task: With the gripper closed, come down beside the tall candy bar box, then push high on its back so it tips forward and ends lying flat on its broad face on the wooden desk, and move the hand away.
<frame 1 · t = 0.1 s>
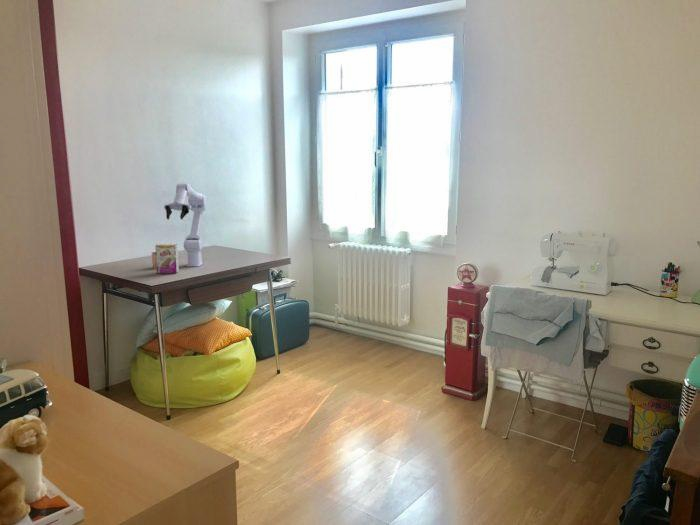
hand: (174, 218, 304), 32 cm above the table, tool tilted 50°, fingers open, 7 cm apart
candy bar box: (168, 273, 317), on the table
terracotta pencil cup: (158, 267, 332), on the table
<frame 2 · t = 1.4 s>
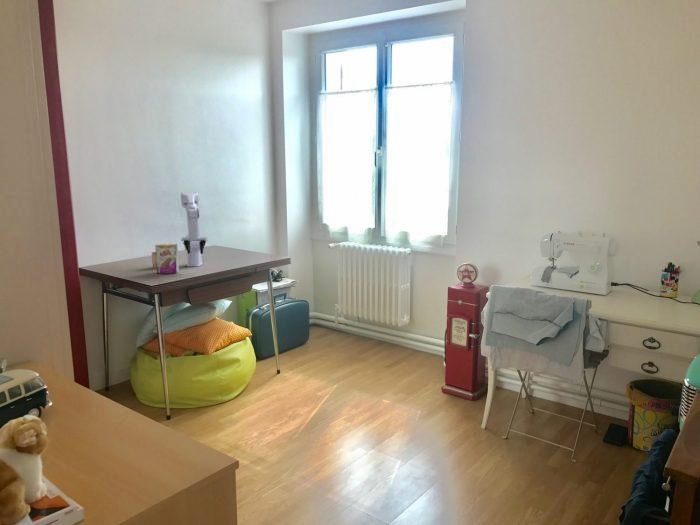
hand: (195, 253, 318), 10 cm above the table, tool pointing down, fingers open, 7 cm apart
nothing on the table moved.
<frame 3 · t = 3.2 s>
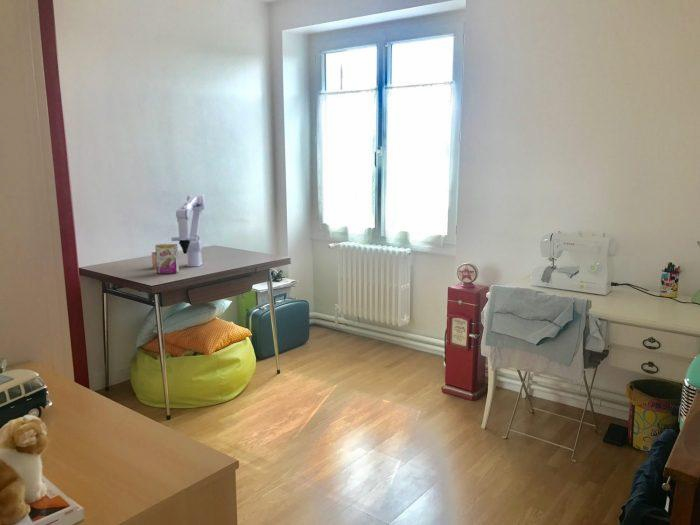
hand: (185, 253, 322), 10 cm above the table, tool pointing down, fingers closed
nothing on the table moved.
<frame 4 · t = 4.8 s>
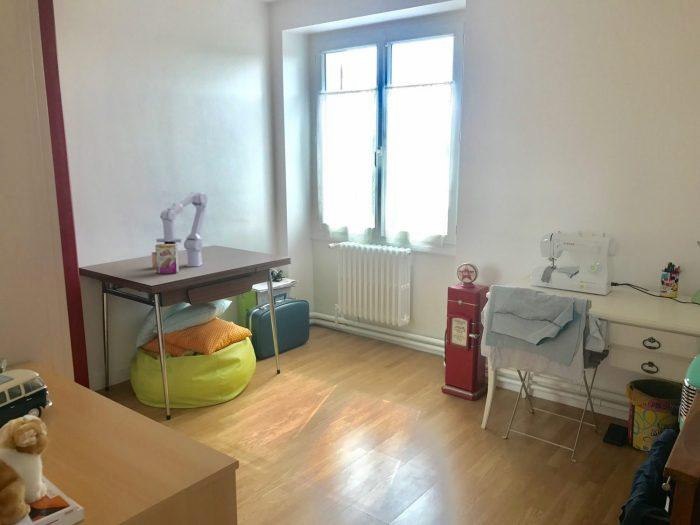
hand: (170, 254, 320), 9 cm above the table, tool pointing down, fingers closed
candy bar box: (168, 273, 317), on the table, touching gripper
everything else where it was.
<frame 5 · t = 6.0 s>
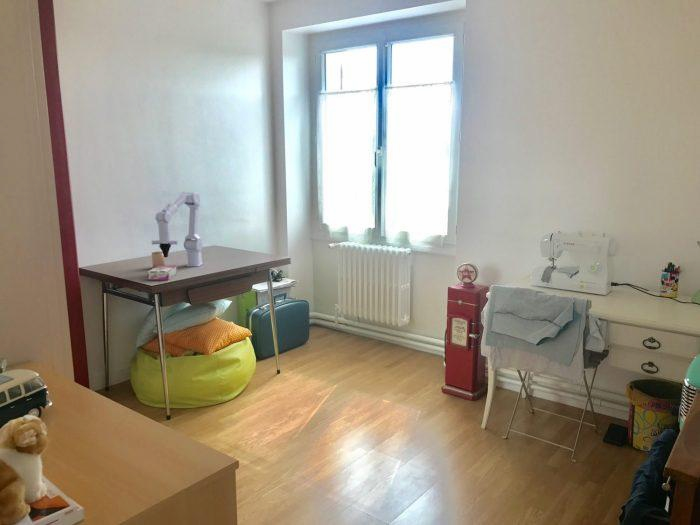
hand: (166, 257, 314), 9 cm above the table, tool pointing down, fingers closed
candy bar box: (166, 269, 315), point 2 cm above the table
everything else where it was.
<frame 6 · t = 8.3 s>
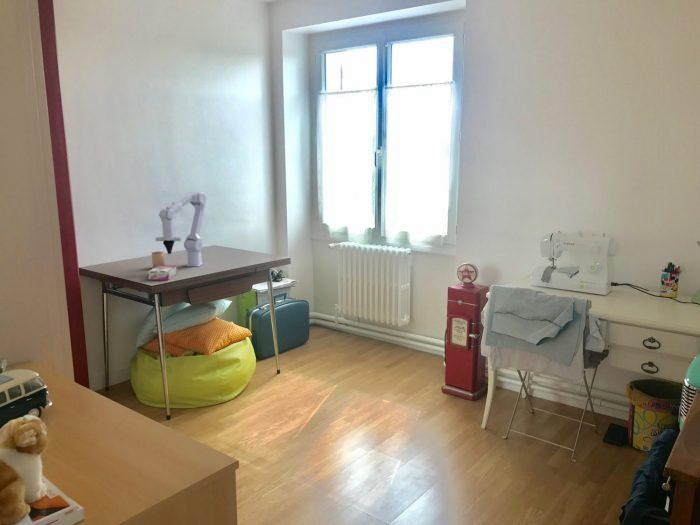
hand: (169, 253, 319), 10 cm above the table, tool pointing down, fingers closed
nothing on the table moved.
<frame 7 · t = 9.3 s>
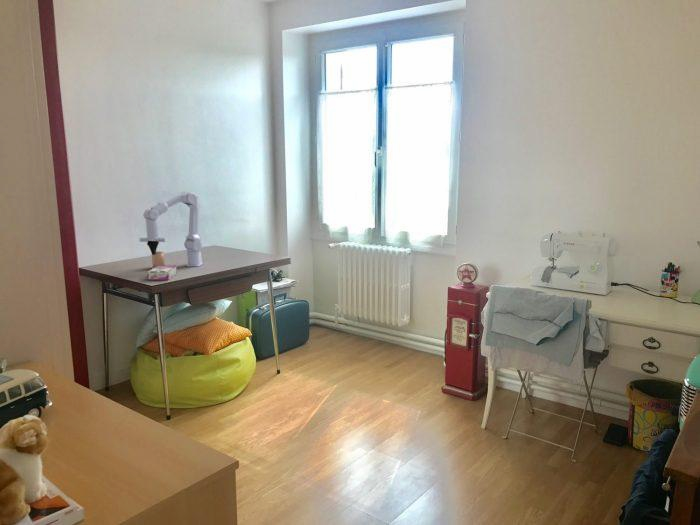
hand: (153, 254, 317), 10 cm above the table, tool pointing down, fingers closed
nothing on the table moved.
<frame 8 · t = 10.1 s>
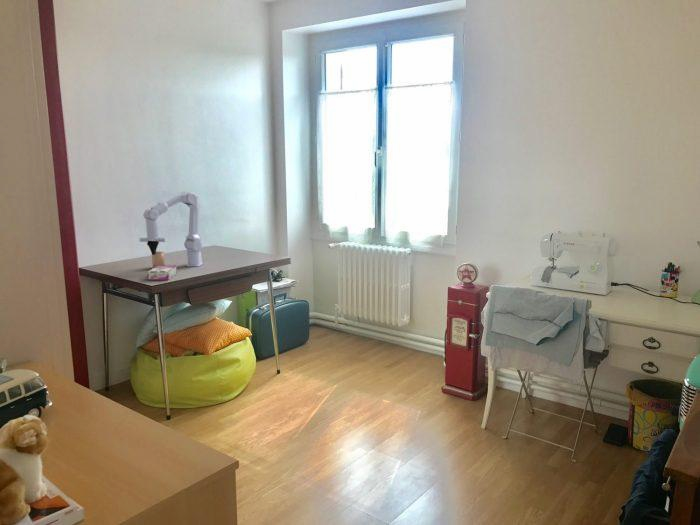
hand: (153, 254, 317), 10 cm above the table, tool pointing down, fingers closed
nothing on the table moved.
at the end: candy bar box tilted 89°; candy bar box inside the target area (6.4 cm from its centre), point 2.4 cm above the table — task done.
